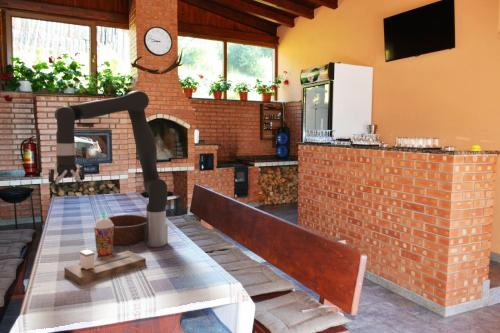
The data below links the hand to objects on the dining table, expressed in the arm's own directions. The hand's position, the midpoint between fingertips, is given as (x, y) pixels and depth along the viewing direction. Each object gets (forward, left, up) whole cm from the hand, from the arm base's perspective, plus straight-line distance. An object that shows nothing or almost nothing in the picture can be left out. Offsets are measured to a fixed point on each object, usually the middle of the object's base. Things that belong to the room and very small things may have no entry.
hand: (67, 191), depth 167 cm
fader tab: (+3, +23, -26) cm, 35 cm away
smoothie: (-13, +6, -30) cm, 34 cm away
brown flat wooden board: (-5, +23, -30) cm, 38 cm away
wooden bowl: (-31, -7, -30) cm, 44 cm away
